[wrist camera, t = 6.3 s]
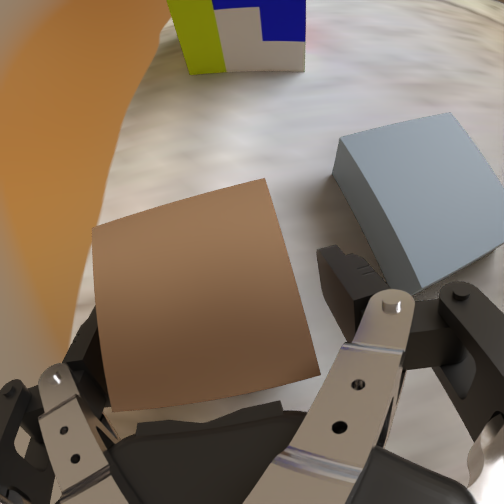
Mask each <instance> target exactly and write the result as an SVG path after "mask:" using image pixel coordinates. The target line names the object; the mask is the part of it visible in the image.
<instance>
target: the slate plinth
mask: <svg viewBox="0 0 504 504" xmlns="http://www.w3.org/2000/svg"><path fill="white" fill-rule="evenodd" d="M332 175H333V176H334V178H335V180H336V182H337V183H338V185H339V187H340V189H341V191H342V193H343V194H344V196H345V198H346V200H347V202H348V204H349V206H350V207H351V209H352V211H353V213H354V215H355V217H356V219H357V221H358V223H359V225H360V227H361V229H362V231H363V233H364V235H365V237H366V239H367V241H368V243H369V245H370V247H371V249H372V251H373V253H374V255H375V257H376V260H377V262H378V264H379V266H380V268H381V270H382V273H383V275H384V277H385V279H386V281H387V284H388V286H389V287H390V288H391V289H397V290H402V291H405V292H407V293H409V294H410V295H411V296H412V295H414V294H416V293H418V292H420V291H422V290H424V289H426V288H428V287H430V286H432V285H434V284H435V283H437V282H439V281H441V280H443V279H445V278H447V277H448V276H450V275H452V274H454V273H456V272H457V271H459V270H461V269H463V268H465V267H466V266H468V265H470V264H472V263H473V262H475V261H477V260H478V259H480V258H482V257H483V256H485V255H487V254H488V253H490V252H492V251H493V250H495V249H496V248H498V247H499V246H501V245H502V244H504V188H503V186H502V184H501V183H500V181H499V179H498V178H497V176H496V175H495V173H494V171H493V170H492V168H491V167H490V165H489V164H488V162H487V161H486V159H485V158H484V156H483V155H482V153H481V152H480V150H479V149H478V148H477V146H476V145H475V143H474V142H473V141H472V139H471V138H470V137H469V135H468V134H467V133H466V131H465V130H464V129H463V127H462V126H461V125H460V123H459V122H458V121H457V120H456V118H455V117H454V116H453V115H452V113H451V112H449V113H444V114H439V115H433V116H428V117H423V118H419V119H414V120H409V121H405V122H400V123H396V124H391V125H387V126H383V127H379V128H374V129H370V130H366V131H362V132H358V133H355V134H351V135H347V136H343V137H340V139H339V144H338V149H337V153H336V158H335V163H334V167H333V172H332Z"/></svg>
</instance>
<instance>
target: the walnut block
mask: <svg viewBox="0 0 504 504" xmlns="http://www.w3.org/2000/svg"><path fill="white" fill-rule="evenodd" d="M92 255H93V276H94V291H95V303H96V314H97V323H98V331H99V339H100V346H101V353H102V360H103V366H104V372H105V378H106V383H107V388H108V393H109V398H110V403H111V408H112V412H119V411H132V410H143V409H153V408H161V407H170V406H177V405H184V404H191V403H198V402H204V401H210V400H216V399H221V398H226V397H232V396H237V395H242V394H247V393H251V392H256V391H260V390H265V389H269V388H273V387H277V386H282V385H286V384H289V383H293V382H297V381H301V380H305V379H308V378H312V377H315V376H319V375H321V373H320V369H319V366H318V362H317V358H316V354H315V350H314V347H313V343H312V339H311V335H310V332H309V328H308V324H307V320H306V317H305V313H304V310H303V306H302V302H301V299H300V295H299V292H298V288H297V284H296V281H295V277H294V274H293V270H292V267H291V263H290V260H289V257H288V253H287V250H286V246H285V243H284V239H283V236H282V233H281V229H280V226H279V223H278V219H277V216H276V213H275V209H274V206H273V203H272V200H271V196H270V193H269V190H268V187H267V184H266V180H265V178H263V179H259V180H254V181H250V182H246V183H242V184H238V185H234V186H231V187H227V188H223V189H219V190H215V191H212V192H208V193H204V194H201V195H197V196H193V197H190V198H186V199H183V200H179V201H176V202H172V203H169V204H165V205H162V206H159V207H155V208H152V209H149V210H146V211H142V212H139V213H136V214H133V215H130V216H126V217H123V218H120V219H117V220H114V221H111V222H108V223H105V224H102V225H99V226H96V227H93V228H92Z"/></svg>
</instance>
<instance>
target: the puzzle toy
mask: <svg viewBox="0 0 504 504" xmlns="http://www.w3.org/2000/svg"><path fill="white" fill-rule="evenodd" d="M167 3H168V7H169V10H170V13H171V16H172V20H173V23H174V26H175V29H176V33H177V36H178V39H179V42H180V45H181V48H182V52H183V55H184V58H185V61H186V64H187V68H188V71H189V74H190V75H196V74H207V73H221V72H242V71H296V72H305V35H306V0H167Z"/></svg>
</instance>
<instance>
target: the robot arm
mask: <svg viewBox="0 0 504 504" xmlns="http://www.w3.org/2000/svg"><path fill="white" fill-rule="evenodd" d="M317 261H318V268H319V274H320V281H321V288H322V292H323V296H324V298H325V301H326V303H327V305H328V306H329V308H330V310H331V312H332V314H333V316H334V318H335V319H336V321H337V323H338V325H339V327H340V329H341V331H342V333H343V334H344V336H345V338H346V340H347V342H345V343H344V344H343V345H342V347H341V349H340V351H339V353H338V355H337V357H336V359H335V361H334V363H333V365H332V367H331V369H330V371H329V373H328V375H327V377H326V379H325V381H324V383H323V385H322V387H321V389H320V391H319V393H318V395H317V396H316V398H315V400H314V402H313V404H312V406H311V408H310V409H309V411H308V412H302V411H283V408H282V405H281V401H280V400H279V401H275V402H271V403H266V404H262V405H257V406H253V407H248V408H243V409H240V410H238V411H235V412H233V413H230V414H228V415H225V416H223V417H220V418H218V419H215V420H212V421H210V422H206V423H194V422H183V421H174V420H165V421H155V422H143V423H138V424H137V429H136V434H133V435H131V436H128V437H126V438H124V439H122V440H121V439H120V437H119V436H118V434H117V432H116V431H115V429H114V427H113V426H112V424H111V422H110V421H109V419H108V417H107V416H106V415H105V413H104V412H103V409H104V407H111V403H110V398H109V393H108V388H107V383H106V378H105V372H104V366H103V360H102V353H101V346H100V339H99V331H98V323H97V314H96V305H95V307H94V309H93V310H92V312H91V314H90V316H89V318H88V319H87V320H86V321H85V322H84V323H83V324H82V325H81V327H80V328H79V330H78V332H77V334H76V336H75V338H74V340H73V343H72V344H71V346H70V348H69V350H68V352H67V354H66V356H65V358H64V360H63V362H62V363H58V364H54V365H52V366H51V367H49V368H47V369H46V370H45V371H44V372H43V373H42V375H41V376H40V378H39V381H38V385H36V386H34V387H31V388H28V389H27V388H26V386H25V385H24V384H23V383H22V381H21V380H18V379H15V380H12V381H10V382H8V383H7V384H5V385H4V386H3V388H2V389H1V390H0V504H50V499H51V493H52V488H53V483H54V479H55V476H56V478H57V481H58V484H59V487H60V489H61V492H62V496H61V497H60V499H59V500H58V501H57V502H56V503H55V504H504V314H503V313H502V312H501V311H500V310H499V309H498V308H497V307H496V306H495V305H494V304H493V303H492V302H491V301H490V300H489V299H488V298H487V297H486V296H485V295H484V294H483V293H482V292H481V291H480V290H479V289H478V288H476V287H475V286H473V285H472V284H469V283H465V282H452V283H449V284H446V285H445V286H443V287H442V289H441V290H440V295H439V299H435V300H426V301H414V298H413V297H412V296H411V295H410V294H409V293H407V292H405V291H402V290H397V289H391V288H390V287H389V286H388V285H387V284H386V283H385V282H384V280H383V279H382V278H381V277H380V276H379V275H378V274H377V273H376V272H375V270H374V269H373V268H372V267H371V266H369V264H368V263H367V262H366V261H365V260H364V259H363V258H362V257H359V256H357V255H355V254H349V255H345V254H344V253H343V252H342V251H341V249H340V248H339V247H338V246H337V245H332V246H329V247H325V248H321V249H317ZM428 367H432V369H433V371H434V372H435V374H436V376H437V377H438V379H439V381H440V382H441V384H442V386H443V387H444V389H445V391H446V392H447V394H448V396H449V398H450V399H451V401H452V403H453V405H454V406H455V408H456V410H457V412H458V413H459V415H460V417H461V419H462V421H463V423H464V424H465V426H466V428H467V430H468V432H469V434H470V436H471V438H472V439H473V441H474V444H473V446H472V447H471V449H470V451H469V453H468V457H467V466H468V469H469V474H470V479H469V484H468V487H467V488H466V487H465V486H463V485H462V484H461V483H459V482H457V481H455V480H453V479H451V478H448V477H446V476H443V475H441V474H438V473H436V472H434V471H431V470H429V469H427V468H424V467H422V466H420V465H417V464H415V463H413V462H411V461H409V460H406V459H404V458H402V457H400V456H398V455H396V454H394V453H392V452H390V451H388V450H386V449H384V448H385V445H386V442H387V440H388V437H389V433H390V430H391V427H392V423H393V419H394V416H395V412H396V409H397V406H398V402H399V399H400V395H401V392H402V388H403V384H404V381H405V377H406V373H407V370H412V369H420V368H428ZM19 426H21V427H22V428H23V429H24V430H25V431H26V432H27V433H28V434H29V435H30V436H31V439H30V442H29V445H28V449H27V452H26V455H25V458H23V457H21V456H20V455H19V454H18V453H17V451H16V449H15V446H14V440H15V437H16V434H17V432H18V429H19Z"/></svg>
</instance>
